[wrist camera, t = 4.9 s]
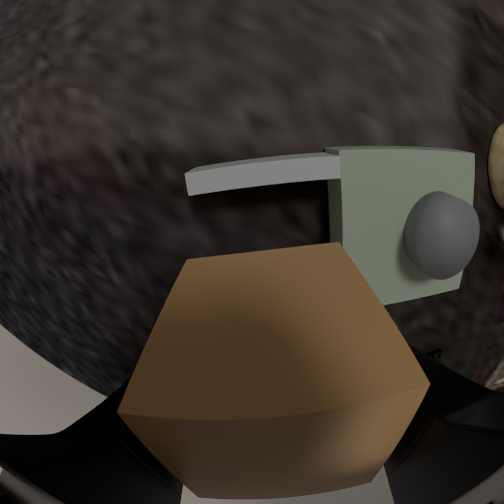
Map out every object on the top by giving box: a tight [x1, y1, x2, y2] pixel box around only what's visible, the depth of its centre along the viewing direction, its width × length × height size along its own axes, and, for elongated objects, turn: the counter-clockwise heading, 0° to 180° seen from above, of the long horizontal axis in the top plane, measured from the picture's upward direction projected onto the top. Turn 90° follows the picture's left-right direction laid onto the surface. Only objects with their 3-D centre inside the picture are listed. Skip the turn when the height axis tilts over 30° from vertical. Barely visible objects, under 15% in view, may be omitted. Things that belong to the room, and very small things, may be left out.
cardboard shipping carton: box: [117, 242, 430, 499], centre depth 7 cm, size 5×5×6 cm
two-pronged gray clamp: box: [185, 146, 479, 305], centre depth 15 cm, size 18×10×5 cm, turn 97°
